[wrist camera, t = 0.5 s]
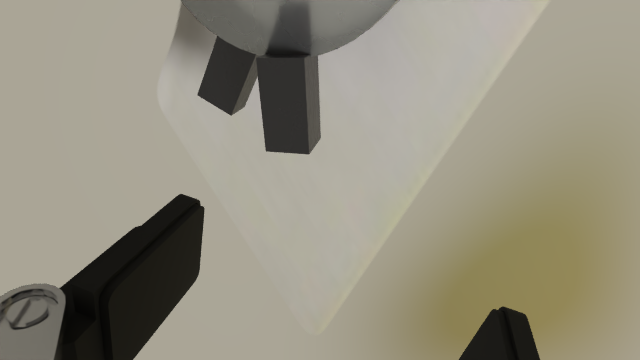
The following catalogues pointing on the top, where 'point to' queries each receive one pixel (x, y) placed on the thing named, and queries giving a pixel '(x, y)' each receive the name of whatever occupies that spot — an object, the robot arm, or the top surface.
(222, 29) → the cooker lid
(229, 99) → the cooker pot
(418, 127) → the top surface
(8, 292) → the robot arm
